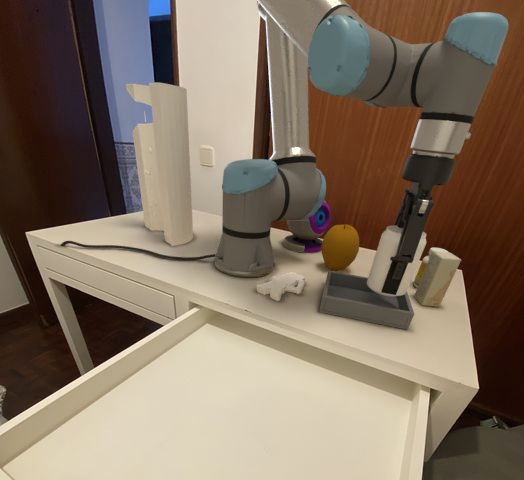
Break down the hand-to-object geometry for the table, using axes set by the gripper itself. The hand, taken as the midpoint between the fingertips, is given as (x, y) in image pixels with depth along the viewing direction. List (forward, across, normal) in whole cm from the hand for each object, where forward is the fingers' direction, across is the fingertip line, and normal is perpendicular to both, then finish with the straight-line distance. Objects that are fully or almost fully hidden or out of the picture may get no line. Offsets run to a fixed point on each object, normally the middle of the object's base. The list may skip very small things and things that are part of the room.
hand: (386, 284), depth 63 cm
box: (+6, +8, -11) cm, 15 cm away
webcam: (+6, +34, +22) cm, 41 cm away
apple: (+6, +20, +11) cm, 23 cm away
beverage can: (+1, 0, 0) cm, 1 cm away
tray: (+6, 0, +4) cm, 7 cm away
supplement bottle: (+6, +18, -12) cm, 22 cm away
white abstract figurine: (+6, 0, +22) cm, 22 cm away
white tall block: (+6, +24, +62) cm, 67 cm away
